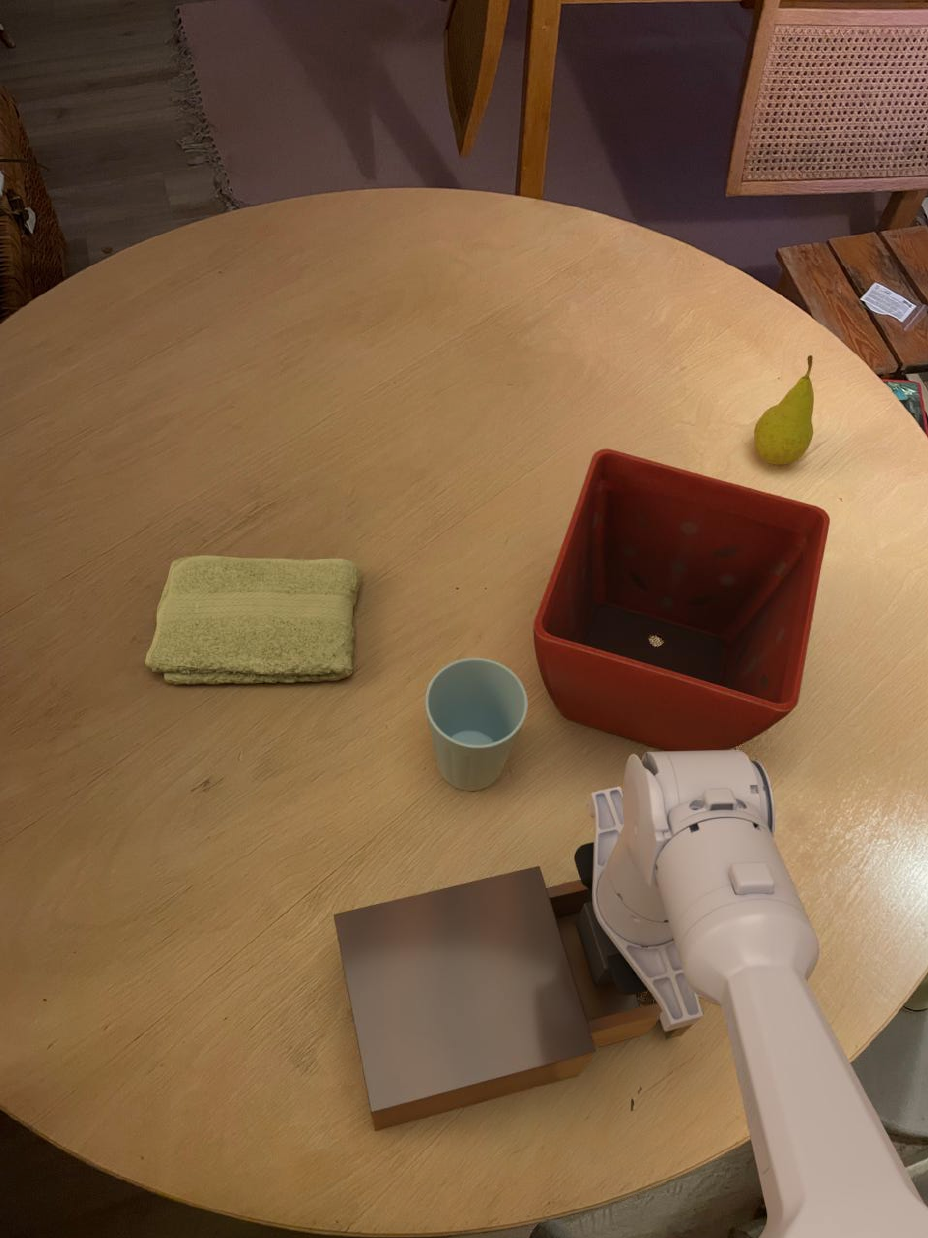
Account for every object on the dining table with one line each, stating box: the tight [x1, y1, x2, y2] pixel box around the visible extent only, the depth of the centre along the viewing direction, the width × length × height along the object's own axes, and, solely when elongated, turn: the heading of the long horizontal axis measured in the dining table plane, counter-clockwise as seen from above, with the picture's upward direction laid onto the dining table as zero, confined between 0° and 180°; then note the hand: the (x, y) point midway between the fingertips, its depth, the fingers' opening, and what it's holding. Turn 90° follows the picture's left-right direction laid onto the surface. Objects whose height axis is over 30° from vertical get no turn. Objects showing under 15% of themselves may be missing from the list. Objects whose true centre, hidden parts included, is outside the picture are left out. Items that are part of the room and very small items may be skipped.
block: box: [575, 902, 621, 986], centre depth 69 cm, size 4×4×4 cm
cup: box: [424, 657, 529, 792], centre depth 82 cm, size 8×8×10 cm
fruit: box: [753, 354, 815, 466], centre depth 101 cm, size 6×6×12 cm
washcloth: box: [144, 554, 362, 686], centre depth 91 cm, size 13×18×3 cm
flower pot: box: [532, 448, 831, 751], centre depth 84 cm, size 19×19×17 cm
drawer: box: [546, 879, 705, 1049], centre depth 73 cm, size 18×11×7 cm, turn 104°
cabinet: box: [333, 865, 597, 1132], centre depth 72 cm, size 15×13×9 cm
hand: (618, 941), depth 70 cm, fingers closed on block, 4 cm apart
